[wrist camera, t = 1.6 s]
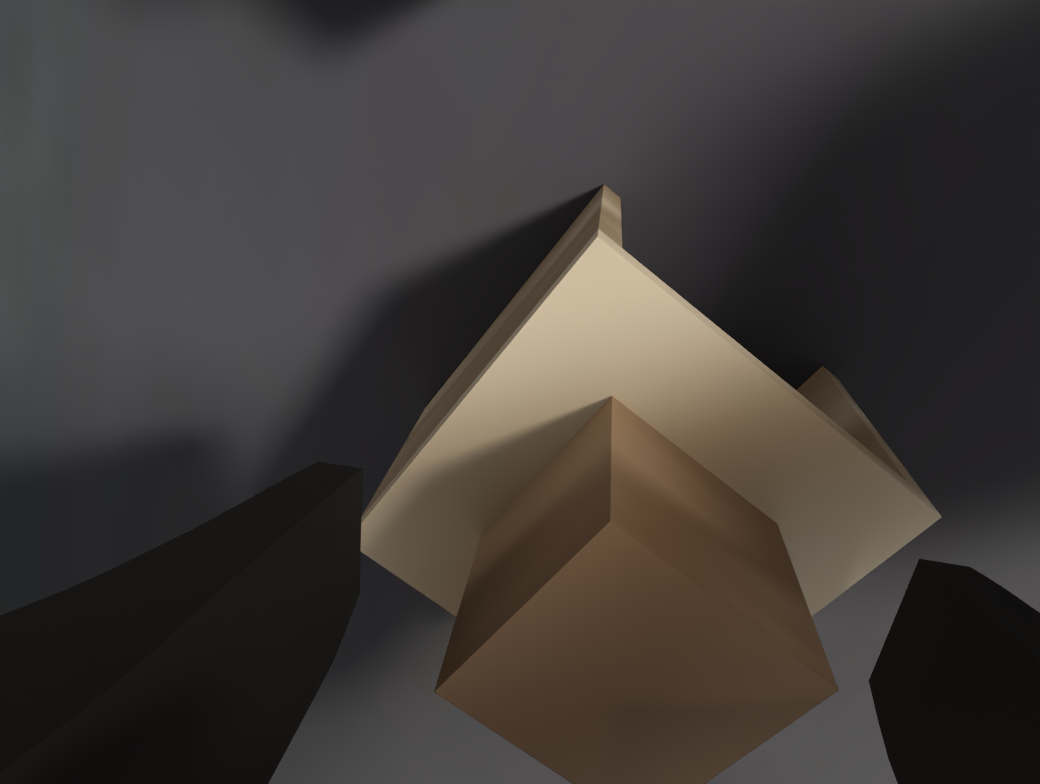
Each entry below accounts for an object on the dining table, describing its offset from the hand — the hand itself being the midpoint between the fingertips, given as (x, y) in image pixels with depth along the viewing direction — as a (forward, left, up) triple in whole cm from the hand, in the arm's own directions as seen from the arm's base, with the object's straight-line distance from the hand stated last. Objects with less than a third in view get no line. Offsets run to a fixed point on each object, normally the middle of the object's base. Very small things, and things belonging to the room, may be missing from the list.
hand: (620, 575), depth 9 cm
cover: (0, 0, -6) cm, 6 cm away
